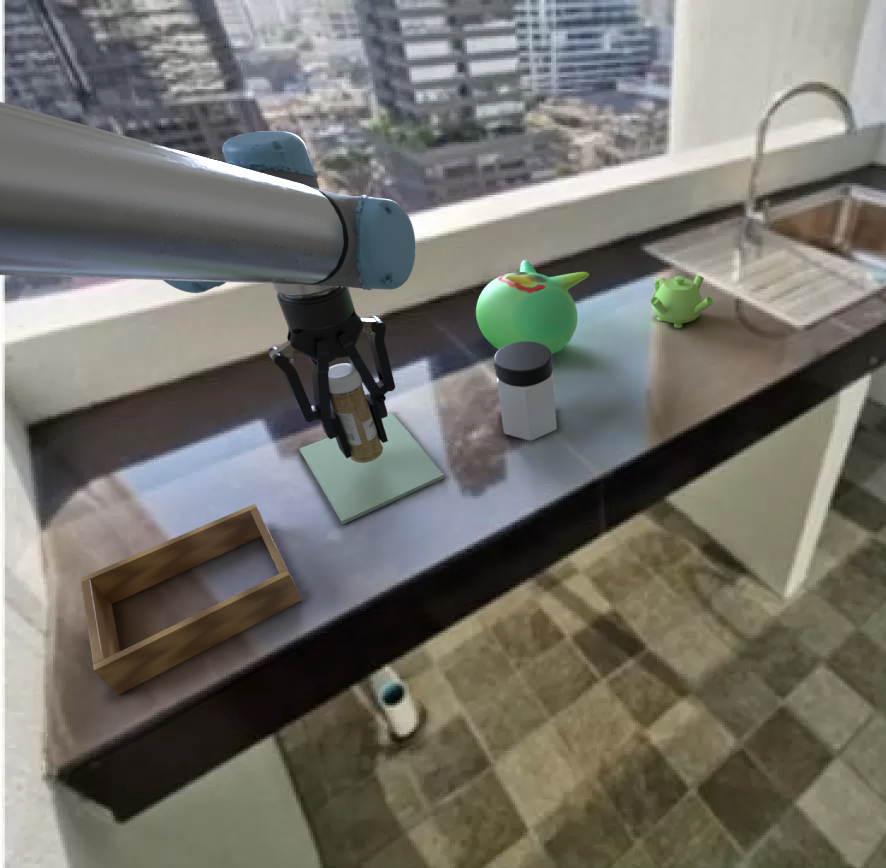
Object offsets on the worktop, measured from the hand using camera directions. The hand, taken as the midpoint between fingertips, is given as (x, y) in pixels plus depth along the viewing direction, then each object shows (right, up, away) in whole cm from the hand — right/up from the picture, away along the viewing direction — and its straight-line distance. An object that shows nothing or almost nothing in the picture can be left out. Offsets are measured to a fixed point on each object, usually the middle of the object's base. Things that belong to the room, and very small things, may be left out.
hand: (363, 444), depth 82 cm
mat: (0, -3, +2) cm, 4 cm away
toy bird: (+20, +17, +27) cm, 37 cm away
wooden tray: (-12, -17, -15) cm, 26 cm away
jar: (+22, +3, +9) cm, 24 cm away
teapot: (+48, +23, +35) cm, 63 cm away
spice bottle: (0, -1, +1) cm, 2 cm away
